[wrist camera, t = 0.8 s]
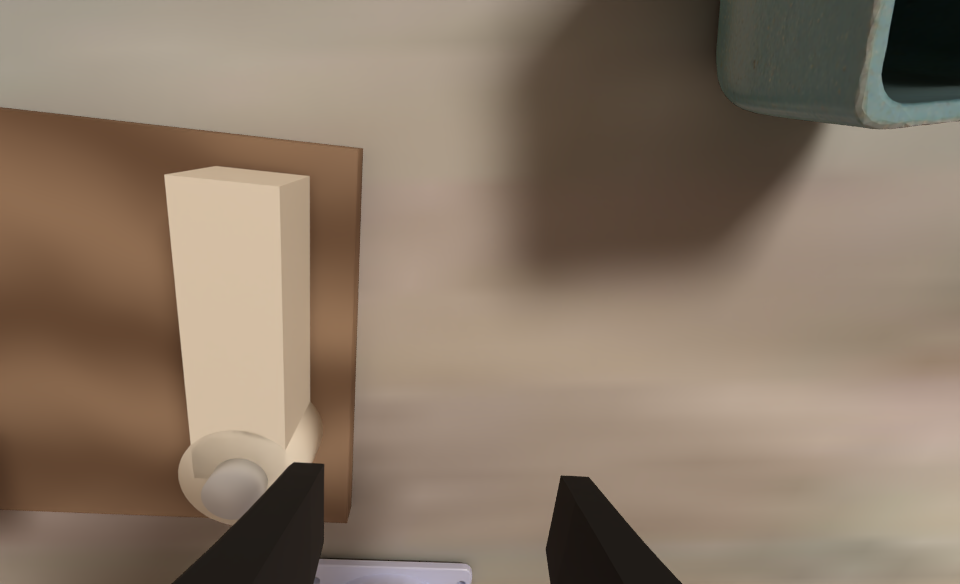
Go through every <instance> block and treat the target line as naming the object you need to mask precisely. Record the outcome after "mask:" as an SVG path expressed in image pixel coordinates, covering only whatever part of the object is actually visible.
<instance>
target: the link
mask: <svg viewBox="0 0 960 584" xmlns="http://www.w3.org/2000/svg"><path fill="white" fill-rule="evenodd" d="M164 178H165V188H166V198H167V209H168V219H169V229H170V239H171V249H172V260H173V270H174V280H175V290H176V300H177V310H178V321H179V331H180V341H181V351H182V361H183V371H184V382H185V392H186V402H187V412H188V422H189V433H190V443H191V445H190V446H189V448H188V449H187V450H186V451H185V453H184V454H183V456H182V458H181V461H180V464H179V469H178V478H179V484H180V486H181V489H182V491H183V493H184V495H185V497H186V498H187V499H188V501H189V502H190V503H191V504H192V505H193V506H194V507H195V508H196V509H197V510H198V511H200V512H201V513H203V514H204V515H206V516H207V517H209V518H211V519H213V520H216V521H218V522H221V523H224V524H228V525H234V524H235V523H236V522H237V521H238V520H239V519H240V518H241V517H242V516H243V515H244V514H245V513H246V512H247V511H248V510H249V509H250V507H251V506H252V505H253V504H254V503H255V502H256V501H257V500H258V499H259V498H260V497H261V496H262V495H263V494H264V493H265V492H266V490H267V489H268V488H269V487H270V486H271V485H272V484H273V483H274V482H275V481H276V479H277V478H278V477H279V476H280V475H281V474H282V473H283V472H284V471H285V469H286V468H287V467H288V466H289V465H291V464H292V463H293V462H301V463H312V462H313V460H314V458H315V455H316V453H317V450H318V448H319V445H320V443H321V440H322V436H323V425H322V420H321V417H320V415H319V413H318V411H317V409H316V408H315V406H314V405H313V404H312V403H311V402H310V176H305V175H295V174H286V173H277V172H267V171H258V170H249V169H239V168H230V167H221V166H213V167H207V168H201V169H195V170H189V171H183V172H177V173H171V174H165V175H164Z"/></svg>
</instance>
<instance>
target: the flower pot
mask: <svg viewBox="0 0 960 584" xmlns="http://www.w3.org/2000/svg"><path fill="white" fill-rule="evenodd" d="M716 65H717V76H718V81H719V84H720V87H721V89H722V91H723V92H724V94H725V95H726V97H727V98H728V99H729V100H730V101H731V102H733V103H734V104H735V105H736V106H738V107H740V108H742V109H745V110H748V111H751V112H755V113H759V114H764V115H771V116H777V117H783V118H791V119H799V120H807V121H815V122H823V123H831V124H839V125H848V126H856V127H863V128H870V129H895V128H904V127H911V126H918V125H930V124H937V123H945V122H953V121H960V0H720V12H719V24H718V37H717V49H716Z"/></svg>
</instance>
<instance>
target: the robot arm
mask: <svg viewBox="0 0 960 584" xmlns="http://www.w3.org/2000/svg"><path fill="white" fill-rule="evenodd" d="M323 542H324V464H321V463H301V462H293V463H292V464H291V465H289V466H288V467H287V468H286V469H285V471H284V472H283V473H282V474H281V475H280V476H279V477H278V478H277V479H276V481H275V482H274V483H273V484H272V485H271V486H270V487H269V488H268V489H267V490H266V492H265V493H264V494H263V495H262V496H261V497H260V498H259V499H258V500H257V501H256V502H255V503H254V504H253V505H252V506H251V507H250V509H249V510H248V511H247V512H246V513H245V514H244V515H243V516H242V517H241V518H240V519H239V520H238V521H237V522H236V523H235V524H234V525H233V526H232V527H231V528H230V529H229V530H228V531H227V532H226V533H225V534H224V535H223V536H222V537H221V538H220V539H219V540H218V541H217V542H216V543H215V544H214V545H213V546H212V547H211V548H210V549H209V550H208V551H207V552H206V553H204V554H203V555H202V556H201V557H200V558H199V559H198V560H197V561H196V562H195V563H194V564H193V565H191V566H190V567H189V568H188V569H187V570H186V571H185V572H184V573H183V574H182V575H181V576H179V577H178V578H177V579H176V580H175V581H174V582H173V583H172V584H471V581H472V569H471V567H470V566H469V565H467V564H464V563H437V562H405V561H373V560H342V559H320V555H321V551H322V546H323ZM546 554H547V562H548V569H549V577H550V583H551V584H682V583H681V582H680V581H679V580H678V579H677V578H676V577H675V576H674V575H673V574H672V572H671V571H670V570H669V569H668V568H667V567H666V566H665V565H664V564H663V563H662V562H661V561H660V560H659V558H658V557H657V556H656V555H655V554H654V553H653V552H652V551H651V550H650V548H649V547H648V546H647V545H646V544H645V543H644V542H643V541H642V539H641V538H640V537H639V536H638V535H637V534H636V532H635V531H634V530H633V529H632V528H631V527H630V526H629V524H628V523H627V522H626V521H625V520H624V518H623V517H622V516H621V515H620V514H619V513H618V511H617V510H616V509H615V508H614V507H613V505H612V504H611V503H610V502H609V501H608V499H607V498H606V497H605V496H604V495H603V493H602V492H601V491H600V490H599V489H598V487H597V486H596V485H595V484H594V483H593V481H592V480H591V479H590V478H589V477H579V476H561V478H560V483H559V487H558V492H557V497H556V502H555V507H554V512H553V517H552V522H551V526H550V531H549V536H548V541H547V546H546ZM315 577H317V578H315ZM459 581H462V582H459Z"/></svg>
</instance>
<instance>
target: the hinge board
mask: <svg viewBox="0 0 960 584" xmlns="http://www.w3.org/2000/svg"><path fill="white" fill-rule="evenodd" d="M362 161H363V148H354V147H345V146H336V145H327V144H319V143H310V142H301V141H292V140H283V139H275V138H266V137H257V136H248V135H239V134H231V133H222V132H213V131H204V130H195V129H187V128H178V127H169V126H160V125H151V124H143V123H134V122H125V121H116V120H107V119H99V118H90V117H81V116H72V115H63V114H55V113H46V112H37V111H28V110H19V109H11V108H2V107H0V510H23V511H49V512H75V513H101V514H126V515H152V516H178V517H204V518H209V517H207V516H206V515H204V514H203V513H201V512H200V511H198V510H197V509H196V508H195V507H194V506H193V505H192V504H191V503H190V502H189V501H188V499H187V498H186V497H185V495H184V493H183V491H182V489H181V486H180V484H179V478H178V469H179V464H180V461H181V458H182V456H183V454H184V453H185V451H186V450H187V449H188V448H189V446H190V445H191V443H190V433H189V422H188V412H187V402H186V392H185V382H184V371H183V361H182V351H181V341H180V331H179V321H178V310H177V300H176V290H175V280H174V270H173V260H172V249H171V239H170V229H169V219H168V209H167V198H166V188H165V178H164V175H165V174H171V173H177V172H183V171H189V170H195V169H201V168H207V167H213V166H221V167H230V168H239V169H249V170H258V171H267V172H277V173H286V174H295V175H305V176H310V402H311V403H312V404H313V405H314V406H315V408H316V409H317V411H318V413H319V415H320V417H321V420H322V425H323V436H322V440H321V443H320V445H319V448H318V450H317V453H316V455H315V458H314V460H313V462H312V463H321V464H324V522H333V523H347V521H348V517H349V513H350V509H351V498H352V467H353V437H354V406H355V376H356V345H357V314H358V284H359V253H360V222H361V192H362Z"/></svg>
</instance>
